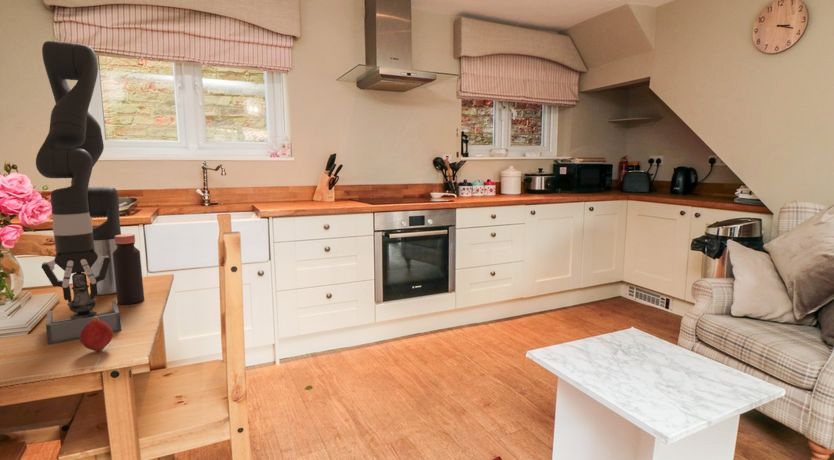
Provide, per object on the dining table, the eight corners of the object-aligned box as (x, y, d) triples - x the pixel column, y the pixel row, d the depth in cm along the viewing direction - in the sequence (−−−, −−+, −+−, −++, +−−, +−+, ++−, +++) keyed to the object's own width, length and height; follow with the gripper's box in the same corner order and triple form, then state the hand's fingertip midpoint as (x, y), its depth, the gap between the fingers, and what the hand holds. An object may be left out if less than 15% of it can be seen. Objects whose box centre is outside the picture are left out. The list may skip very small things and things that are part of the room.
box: (49, 328, 111) (47, 311, 110) (117, 316, 120) (115, 300, 119) (48, 344, 102) (45, 325, 101) (121, 330, 110) (119, 312, 109)
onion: (78, 359, 94) (74, 323, 93) (86, 348, 100) (82, 314, 98) (111, 354, 97) (107, 319, 96) (116, 344, 102) (113, 310, 101)
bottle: (115, 306, 128) (108, 237, 125) (119, 299, 134) (113, 234, 131) (142, 303, 131) (136, 236, 128) (146, 296, 137) (139, 232, 134)
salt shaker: (86, 319, 109) (80, 272, 107) (62, 319, 109) (56, 271, 107) (103, 311, 114) (98, 266, 113) (81, 311, 115) (75, 266, 113)
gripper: (107, 227, 115) (114, 291, 118) (36, 232, 107) (45, 301, 110) (109, 230, 110) (116, 298, 112) (34, 236, 101) (43, 309, 104)
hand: (81, 299), depth 111 cm, fingers closed on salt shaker, 4 cm apart
